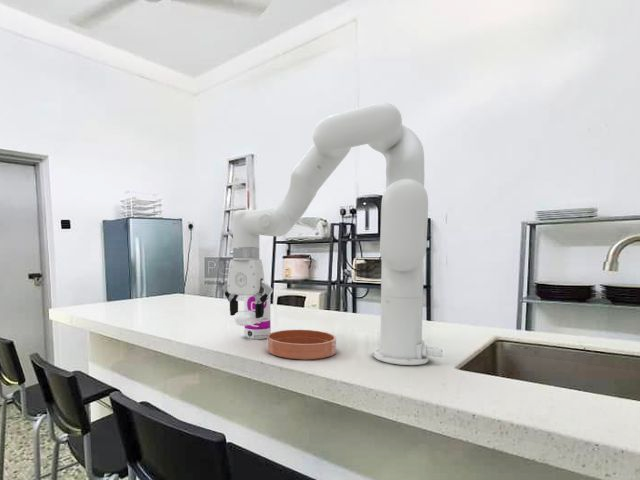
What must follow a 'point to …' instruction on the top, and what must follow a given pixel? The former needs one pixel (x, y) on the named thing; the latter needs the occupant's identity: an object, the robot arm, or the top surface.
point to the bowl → (301, 344)
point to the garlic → (246, 318)
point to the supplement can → (265, 324)
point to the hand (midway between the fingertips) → (246, 315)
